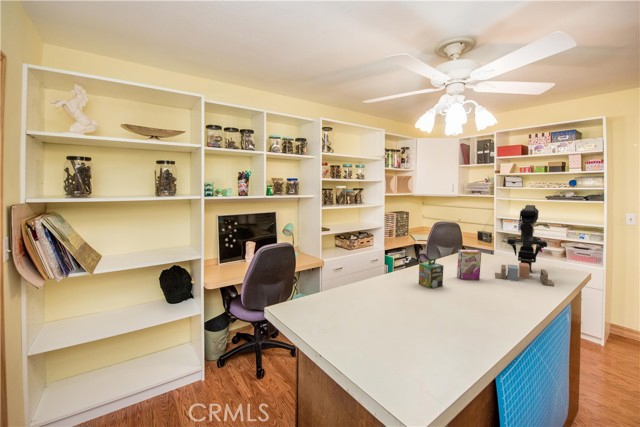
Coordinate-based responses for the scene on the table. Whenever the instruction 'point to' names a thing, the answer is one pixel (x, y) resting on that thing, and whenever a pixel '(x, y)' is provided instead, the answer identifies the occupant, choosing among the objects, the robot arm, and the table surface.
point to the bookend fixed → (502, 274)
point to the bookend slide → (545, 278)
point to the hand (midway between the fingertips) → (525, 256)
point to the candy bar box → (469, 264)
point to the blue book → (512, 272)
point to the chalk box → (431, 274)
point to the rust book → (524, 270)
